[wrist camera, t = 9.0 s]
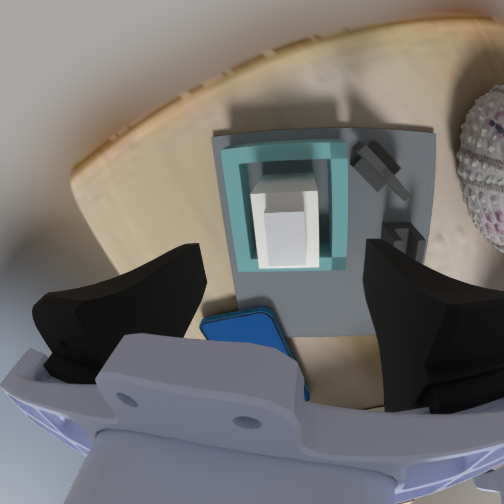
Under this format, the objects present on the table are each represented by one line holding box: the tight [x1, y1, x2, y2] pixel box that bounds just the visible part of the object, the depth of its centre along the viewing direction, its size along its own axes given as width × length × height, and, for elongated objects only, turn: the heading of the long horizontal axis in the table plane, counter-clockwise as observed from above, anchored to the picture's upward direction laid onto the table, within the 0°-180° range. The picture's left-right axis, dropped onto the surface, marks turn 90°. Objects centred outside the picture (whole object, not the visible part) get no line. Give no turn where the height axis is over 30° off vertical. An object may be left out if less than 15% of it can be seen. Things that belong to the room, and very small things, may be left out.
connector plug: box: [250, 172, 319, 269], centre depth 17 cm, size 4×4×6 cm
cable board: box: [212, 128, 436, 337], centre depth 19 cm, size 16×18×4 cm
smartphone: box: [199, 306, 310, 402], centre depth 27 cm, size 7×1×15 cm
